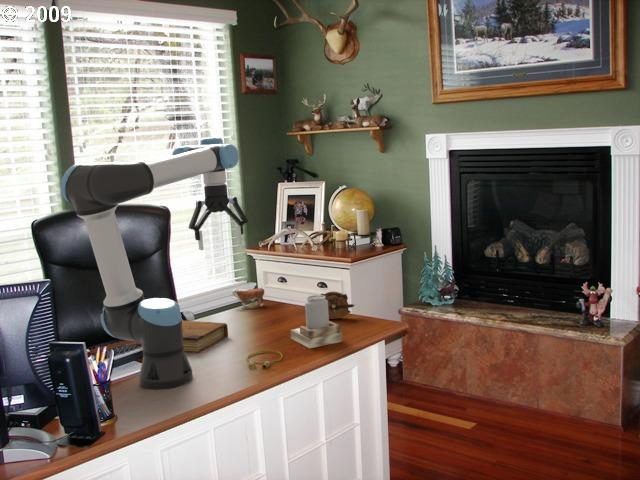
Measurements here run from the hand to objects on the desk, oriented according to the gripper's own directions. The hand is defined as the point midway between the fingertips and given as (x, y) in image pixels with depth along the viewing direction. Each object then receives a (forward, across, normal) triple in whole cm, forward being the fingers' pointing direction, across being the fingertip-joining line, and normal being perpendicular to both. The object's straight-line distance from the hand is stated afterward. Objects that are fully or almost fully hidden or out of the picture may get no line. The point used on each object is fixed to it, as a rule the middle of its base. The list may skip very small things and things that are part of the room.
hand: (220, 247), depth 248 cm
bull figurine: (+32, -22, -36) cm, 53 cm away
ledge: (+32, -23, +22) cm, 45 cm away
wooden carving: (+32, -40, +2) cm, 51 cm away
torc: (+32, 0, +31) cm, 45 cm away
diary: (+32, +14, -4) cm, 36 cm away
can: (+29, -23, +24) cm, 44 cm away
